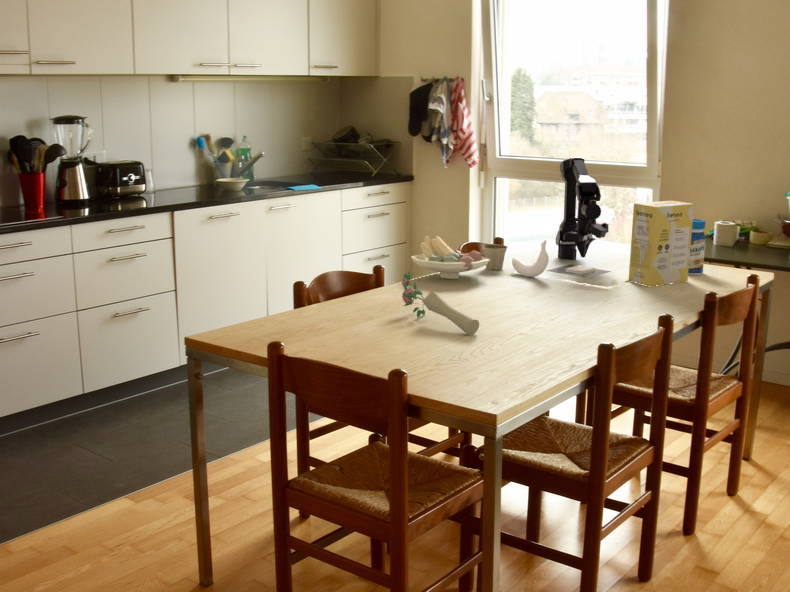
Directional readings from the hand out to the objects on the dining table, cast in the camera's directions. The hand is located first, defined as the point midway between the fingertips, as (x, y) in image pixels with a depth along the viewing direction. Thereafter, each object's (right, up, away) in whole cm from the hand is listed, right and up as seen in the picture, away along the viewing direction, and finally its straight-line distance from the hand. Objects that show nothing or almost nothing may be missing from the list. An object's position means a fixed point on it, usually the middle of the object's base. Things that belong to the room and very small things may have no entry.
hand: (583, 257), depth 326 cm
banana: (-21, -7, -4) cm, 23 cm away
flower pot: (-32, -4, +8) cm, 33 cm away
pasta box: (+24, -9, -12) cm, 29 cm away
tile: (+2, -4, +3) cm, 6 cm away
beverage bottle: (+41, -6, +2) cm, 41 cm away
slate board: (-1, -6, +1) cm, 6 cm away
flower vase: (-58, -22, -67) cm, 92 cm away
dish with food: (-50, -8, -7) cm, 51 cm away
